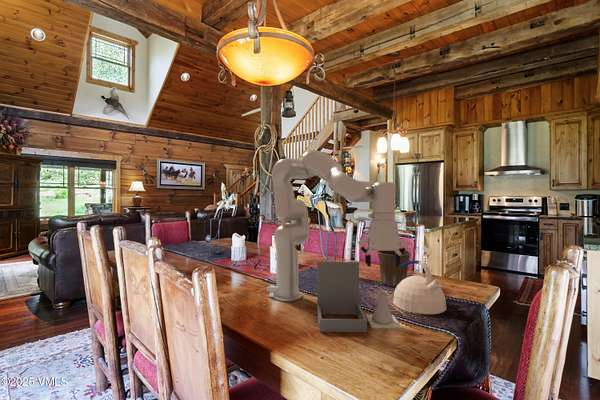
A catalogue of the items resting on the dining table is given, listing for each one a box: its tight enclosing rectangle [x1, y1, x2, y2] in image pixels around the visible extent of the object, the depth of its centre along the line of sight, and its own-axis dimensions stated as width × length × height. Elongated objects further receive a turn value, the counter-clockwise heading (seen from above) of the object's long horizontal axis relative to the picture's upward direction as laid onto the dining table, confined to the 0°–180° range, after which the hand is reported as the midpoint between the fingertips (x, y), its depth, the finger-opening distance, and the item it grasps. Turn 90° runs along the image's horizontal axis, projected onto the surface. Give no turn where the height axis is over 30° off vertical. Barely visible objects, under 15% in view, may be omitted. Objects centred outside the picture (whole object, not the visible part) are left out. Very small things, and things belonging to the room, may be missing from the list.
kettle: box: [392, 260, 447, 315], centre depth 126 cm, size 20×21×18 cm
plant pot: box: [376, 248, 412, 288], centre depth 155 cm, size 16×16×16 cm
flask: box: [371, 290, 394, 324], centre depth 109 cm, size 7×7×10 cm
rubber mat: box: [365, 314, 403, 330], centre depth 109 cm, size 10×10×1 cm
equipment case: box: [316, 261, 368, 333], centre depth 110 cm, size 16×16×20 cm
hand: (382, 265), depth 109 cm, fingers open, 9 cm apart
